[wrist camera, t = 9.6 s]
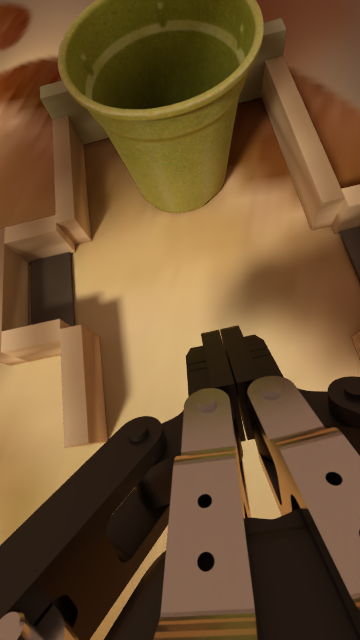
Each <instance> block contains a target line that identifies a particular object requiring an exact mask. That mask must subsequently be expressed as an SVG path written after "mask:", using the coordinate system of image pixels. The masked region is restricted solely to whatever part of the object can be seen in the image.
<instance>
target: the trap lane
mask: <svg viewBox="0 0 360 640" xmlns="http://www.w3.org/2000/svg"><path fill="white" fill-rule="evenodd" d="M285 37H286V27H285V25H284V23H283V20H282V19H281V18H280V19H276V20H272V21H269V22H265V23H264V32H263V39H262V44H261V48H260V51H259V54H258V56H257V58H256V60H255V62H254V64H253V65H252V67H251V68H250V70H249V71H248V73H247V78H246V81H245V84H244V86H243V89H242V91H241V92H240V94H239V99H238V103H242V102H246V101H249V100H253V99H257V98H261V97H262V100H263V103H264V105H265V108H266V111H267V113H268V116H269V119H270V121H271V124H272V127H273V129H274V132H275V135H276V137H277V140H278V143H279V145H280V148H281V151H282V153H283V156H284V159H285V161H286V164H287V167H288V169H289V172H290V175H291V177H292V180H293V183H294V185H295V188H296V191H297V193H298V196H299V199H300V201H301V204H302V207H303V209H304V212H305V215H306V217H307V220H308V223H309V225H310V228H311V230H314V229H318V228H322V227H327V226H332V229H333V231H334V234H335V233H340V235H341V238H342V240H343V242H344V245H345V247H346V250H347V252H348V255H349V257H350V259H351V262H352V264H353V267H354V269H355V272H356V274H357V276H358V279H359V281H360V184H359V185H355V186H351V187H347V188H342V189H341V187H340V185H339V183H338V180H337V178H336V176H335V174H334V171H333V169H332V167H331V164H330V162H329V160H328V158H327V155H326V153H325V151H324V148H323V146H322V144H321V142H320V139H319V137H318V135H317V133H316V130H315V128H314V126H313V123H312V121H311V119H310V117H309V114H308V112H307V110H306V107H305V105H304V103H303V101H302V98H301V96H300V94H299V91H298V89H297V87H296V85H295V82H294V80H293V78H292V76H291V73H290V71H289V69H288V66H287V64H286V62H285V60H284V57H283V51H284V44H285ZM40 99H41V101H42V103H43V104H44V106H45V108H46V110H47V111H48V113H49V115H50V117H51V118H52V130H53V156H54V183H55V210H56V215H53V216H49V217H45V218H41V219H37V220H33V221H29V222H24V223H20V224H16V225H12V226H8V227H4V228H0V363H4V364H7V365H15V364H20V363H24V362H29V361H34V360H39V359H43V358H48V357H53V356H58V355H61V370H62V397H63V424H64V448H68V447H77V446H85V445H91V444H97V443H102V442H107V441H108V437H107V425H106V413H105V401H104V388H103V376H102V364H101V352H100V340H99V337H98V336H97V335H95V334H94V333H92V332H91V331H90V330H88V329H87V328H85V327H84V326H83V325H77V326H75V317H74V299H73V281H72V263H71V253H74V252H75V245H76V244H80V243H85V242H89V241H91V231H90V219H89V207H88V195H87V183H86V171H85V159H84V146H83V145H84V144H88V143H91V142H95V141H99V140H103V139H107V138H109V137H108V135H107V133H106V132H105V130H104V128H103V127H102V126H101V125H100V124H99V123H98V122H97V121H96V120H95V119H94V118H93V116H92V115H91V114H90V112H89V110H88V109H87V108H85V107H84V106H82V105H81V104H80V103H78V102H77V101H76V100H75V99H74V98H73V97H72V95H71V94H70V93H69V91H68V90H67V88H66V87H65V85H64V83H63V81H58V82H55V83H51V84H48V85H44V86H41V87H40ZM28 263H31V325H29V290H28ZM352 340H353V342H354V345H355V348H356V350H357V353H358V356H359V358H360V331H359V332H358V333H357V334H355V335H354V336H353V337H352Z"/></svg>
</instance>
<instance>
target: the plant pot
mask: <svg viewBox="0 0 360 640" xmlns="http://www.w3.org/2000/svg"><path fill="white" fill-rule="evenodd" d="M263 32H264V22H263V17H262V13H261V10H260V7H259V5H258V3H257V1H256V0H96V1H95V2H93V3H92V4H91V5H90V6H89V7H87V8H86V9H85V10H84V11H83V12H82V13H81V14H80V15H79V16H78V17H77V18H76V19H75V21H74V22H73V23H72V24H71V26H70V27H69V29H68V30H67V32H66V34H65V36H64V38H63V40H62V42H61V45H60V49H59V55H58V69H59V73H60V76H61V79H62V81H63V83H64V85H65V87H66V88H67V90H68V91H69V93H70V94H71V95H72V97H73V98H74V99H75V100H76V101H77V102H78V103H80V104H81V105H82V106H84V107H85V108H87V109H88V110H89V112H90V114H91V115H92V116H93V118H94V119H95V120H96V121H97V122H98V123H99V124H100V125H101V126H102V127H103V128H104V130H105V132H106V133H107V135H108V137H109V138H110V140H111V142H112V144H113V145H114V147H115V149H116V150H117V152H118V154H119V156H120V157H121V159H122V161H123V163H124V164H125V166H126V168H127V169H128V171H129V173H130V175H131V176H132V178H133V180H134V182H135V183H136V185H137V187H138V189H139V190H140V192H141V194H142V196H143V197H144V198H145V199H146V200H147V201H148V202H150V203H151V204H152V205H154V206H155V207H156V208H157V209H160V210H162V211H166V212H172V213H181V212H188V211H192V210H195V209H198V208H200V207H202V206H203V205H205V204H206V203H207V202H208V201H209V200H210V199H211V198H212V197H213V196H214V195H215V194H216V193H218V192H219V191H220V189H221V188H222V186H223V183H224V180H225V175H226V169H227V164H228V157H229V150H230V144H231V138H232V132H233V127H234V122H235V116H236V110H237V104H238V99H239V94H240V92H241V91H242V89H243V86H244V84H245V81H246V78H247V73H248V71H249V70H250V68H251V67H252V65H253V64H254V62H255V60H256V58H257V56H258V54H259V51H260V48H261V44H262V39H263Z"/></svg>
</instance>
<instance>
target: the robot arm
mask: <svg viewBox="0 0 360 640" xmlns="http://www.w3.org/2000/svg"><path fill="white" fill-rule="evenodd" d="M220 331H221V335H220V332H219V330H215V331H211V332H206V333H201V336H202V342H203V346H199V347H194V348H191V349H190V350H189V352H188V354H187V355H186V365H187V380H188V394H189V397H188V398H187V400H186V401H185V404H184V410H183V412H182V413H180V414H179V415H178V416H176V417H175V418H173V419H171V420H169V421H167V422H164V423H162V424H161V423H160V422H159V420H157V419H156V418H154V417H149V416H143V417H138V418H135V419H133V420H131V421H129V422H127V423H126V424H125V425H123V426H122V427H121V428H120V429H119V430H118V431H117V432H116V433H115V434H114V435H113V436H112V437H111V438H110V439H109V440H108V441H107V442H106V443H105V444H104V445H103V446H102V447H101V448H100V449H99V450H98V451H97V452H96V453H95V454H94V455H93V456H92V457H91V458H90V459H88V460H87V461H86V462H85V463H84V464H83V465H82V466H81V467H80V468H79V469H78V470H77V471H76V472H75V473H74V474H73V475H72V476H71V477H70V478H69V479H68V480H67V481H66V482H65V483H64V484H63V485H62V486H61V487H60V488H59V489H58V490H57V491H56V492H55V493H54V494H53V495H52V496H51V497H50V498H49V499H48V500H46V501H45V502H44V503H43V504H42V505H41V506H40V507H39V508H38V509H37V510H36V511H35V512H34V513H33V514H32V515H31V516H30V517H29V518H28V519H27V520H26V521H25V522H24V523H23V524H22V525H21V526H20V527H19V528H18V529H17V530H16V531H15V532H14V533H13V534H12V535H11V536H10V537H9V538H8V539H7V540H6V541H5V542H3V543H2V544H1V545H0V640H90V638H91V637H92V635H93V634H94V632H95V631H96V630H97V628H98V627H99V625H100V624H101V622H102V621H103V619H104V618H105V616H106V615H107V613H108V612H109V610H110V609H111V608H112V606H113V605H114V603H115V602H116V600H117V599H118V597H119V596H120V594H121V593H122V591H123V590H124V588H125V587H126V585H127V584H128V583H129V581H130V580H131V578H132V577H133V575H134V574H135V572H136V571H137V569H138V568H139V566H140V565H141V563H142V562H143V561H144V559H145V558H146V556H147V555H148V553H149V552H150V550H151V549H152V547H153V546H154V544H155V543H156V541H157V540H158V538H159V537H160V536H161V534H162V533H163V531H164V530H165V528H166V527H167V525H168V534H167V546H166V551H165V552H163V553H162V554H161V555H160V556H159V557H158V558H157V559H156V560H155V561H154V563H153V564H152V565H151V566H150V568H149V569H148V570H147V571H146V573H145V574H144V576H143V577H142V579H141V581H140V582H139V584H138V585H137V587H136V589H135V590H134V592H133V593H132V595H131V597H130V598H129V600H128V602H127V603H126V605H125V606H124V608H123V610H122V611H121V613H120V614H119V616H118V618H117V619H116V621H115V622H114V624H113V626H112V627H111V629H110V631H109V632H108V634H107V635H106V637H105V639H104V640H360V377H343V378H339V379H337V380H335V381H333V382H332V383H331V384H330V385H329V387H328V392H318V391H305V390H301V389H298V388H296V386H295V385H294V384H293V383H292V382H291V381H290V380H288V379H286V378H284V377H283V375H282V373H281V371H280V370H279V368H278V366H277V364H276V362H275V360H274V358H273V357H272V355H271V353H270V351H269V349H268V347H267V345H266V344H265V342H264V340H263V339H261V338H259V337H258V336H256V335H250V336H246V337H243V335H242V332H241V330H240V328H239V326H233V327H229V328H224V329H220ZM221 336H222V339H221ZM222 341H223V342H222ZM241 418H242V419H241ZM242 421H243V424H242ZM243 425H244V428H245V432H246V436H247V439H248V440H251V439H255V441H256V445H257V449H258V454H259V459H260V462H261V465H262V468H263V470H264V473H265V475H266V478H267V480H268V483H269V485H270V488H271V490H272V493H273V495H274V498H275V500H276V503H277V505H278V508H279V510H280V513H281V517H279V518H276V519H259V518H251V513H250V506H249V500H248V493H247V486H246V479H245V473H244V466H243V461H242V458H243V450H242V445H241V441H246V439H245V434H244V429H243ZM131 491H132V492H131ZM130 492H131V493H130ZM126 497H127V498H126ZM125 498H126V499H125ZM121 503H122V504H121ZM120 504H121V505H120ZM117 508H118V509H117ZM116 509H117V510H116ZM115 510H116V511H115ZM112 514H113V515H112Z"/></svg>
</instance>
